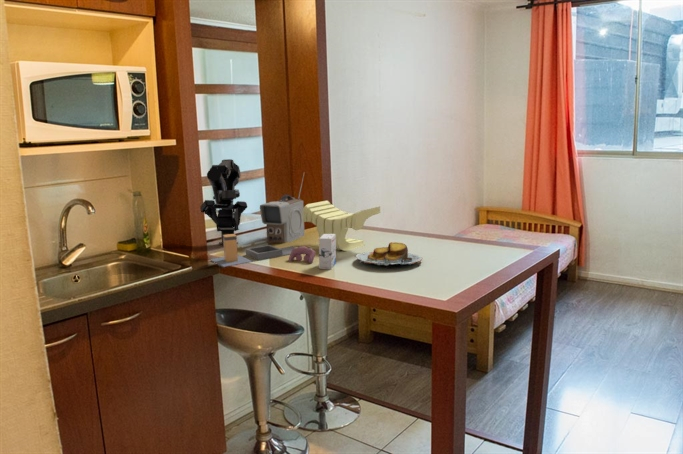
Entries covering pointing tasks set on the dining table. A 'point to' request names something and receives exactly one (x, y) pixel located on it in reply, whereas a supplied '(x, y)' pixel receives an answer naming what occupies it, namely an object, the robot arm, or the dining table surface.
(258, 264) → the dining table surface
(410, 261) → the food on plate
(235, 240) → the block
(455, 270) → the dining table surface
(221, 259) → the mat
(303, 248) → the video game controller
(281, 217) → the portable television
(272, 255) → the case
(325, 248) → the ink box
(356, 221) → the slatted curved stool
